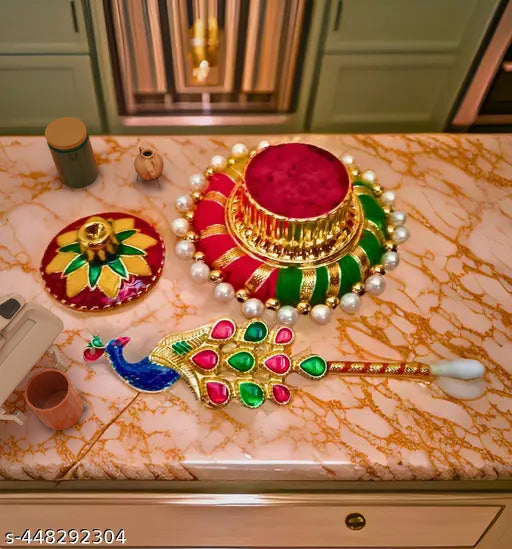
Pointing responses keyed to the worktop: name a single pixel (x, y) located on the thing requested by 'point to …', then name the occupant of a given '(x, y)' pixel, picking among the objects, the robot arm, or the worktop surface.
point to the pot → (148, 165)
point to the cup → (54, 399)
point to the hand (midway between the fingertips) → (44, 395)
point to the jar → (72, 152)
